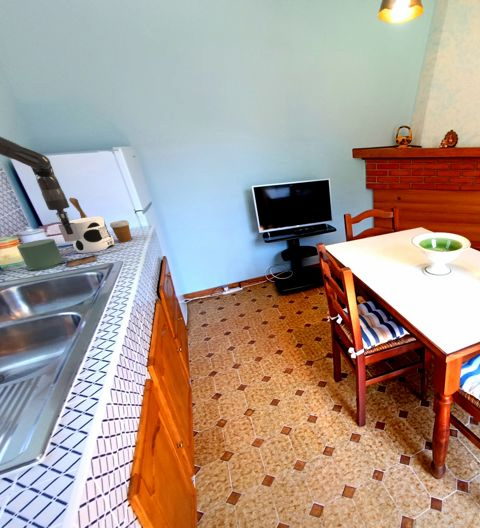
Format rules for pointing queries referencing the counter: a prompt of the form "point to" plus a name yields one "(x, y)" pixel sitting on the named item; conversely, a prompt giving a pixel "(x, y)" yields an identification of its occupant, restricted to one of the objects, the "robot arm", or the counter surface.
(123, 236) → the disposable coffee cup
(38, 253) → the green tapered cylinder
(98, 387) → the counter surface
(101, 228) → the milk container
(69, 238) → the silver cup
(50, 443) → the counter surface
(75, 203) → the wooden handled tool
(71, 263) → the coaster
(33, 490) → the counter surface
